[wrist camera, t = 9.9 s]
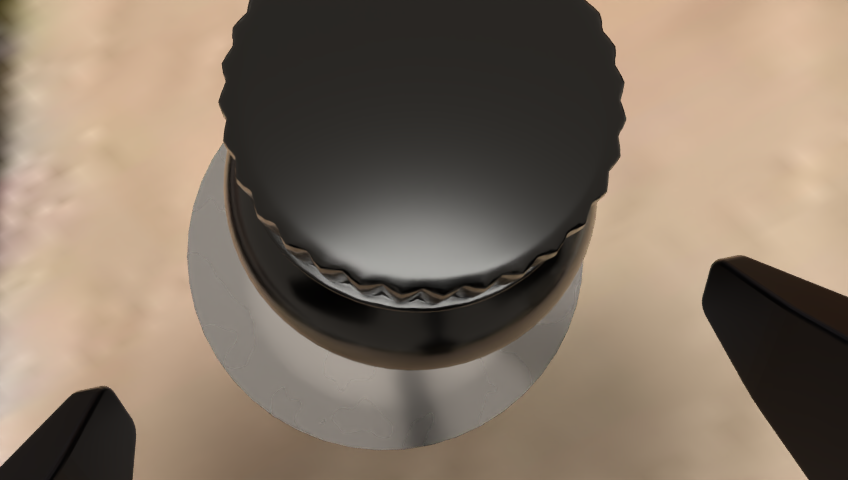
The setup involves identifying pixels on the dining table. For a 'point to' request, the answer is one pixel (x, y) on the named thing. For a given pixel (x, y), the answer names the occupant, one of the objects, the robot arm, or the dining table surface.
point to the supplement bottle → (417, 167)
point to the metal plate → (339, 377)
